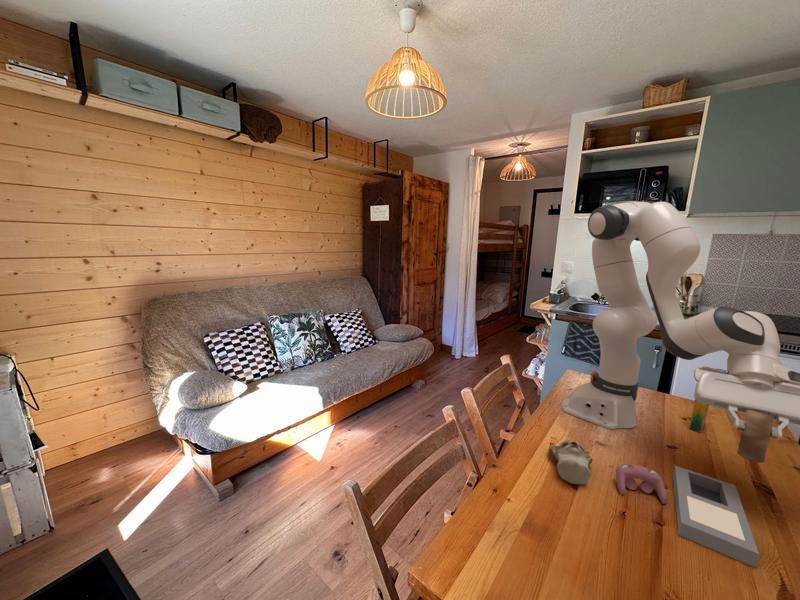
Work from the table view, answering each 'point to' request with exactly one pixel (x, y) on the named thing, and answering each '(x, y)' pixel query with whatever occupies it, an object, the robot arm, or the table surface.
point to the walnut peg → (755, 436)
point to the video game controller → (648, 476)
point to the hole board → (713, 515)
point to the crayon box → (698, 416)
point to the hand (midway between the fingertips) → (757, 433)
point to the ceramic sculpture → (572, 462)
